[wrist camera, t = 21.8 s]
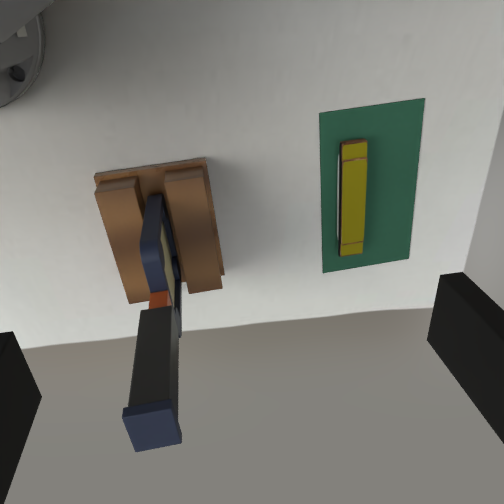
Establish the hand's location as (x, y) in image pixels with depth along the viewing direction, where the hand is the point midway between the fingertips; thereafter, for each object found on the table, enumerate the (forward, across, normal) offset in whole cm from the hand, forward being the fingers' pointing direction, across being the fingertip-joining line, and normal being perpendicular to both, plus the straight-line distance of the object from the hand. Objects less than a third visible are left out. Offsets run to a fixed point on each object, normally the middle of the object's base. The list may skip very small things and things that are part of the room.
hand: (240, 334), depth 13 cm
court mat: (+36, +20, -12) cm, 42 cm away
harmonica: (+33, +17, -12) cm, 39 cm away
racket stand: (+36, -6, -13) cm, 38 cm away
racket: (+34, -6, -14) cm, 38 cm away
